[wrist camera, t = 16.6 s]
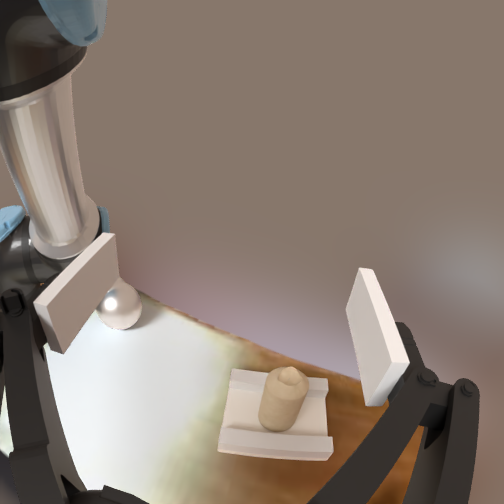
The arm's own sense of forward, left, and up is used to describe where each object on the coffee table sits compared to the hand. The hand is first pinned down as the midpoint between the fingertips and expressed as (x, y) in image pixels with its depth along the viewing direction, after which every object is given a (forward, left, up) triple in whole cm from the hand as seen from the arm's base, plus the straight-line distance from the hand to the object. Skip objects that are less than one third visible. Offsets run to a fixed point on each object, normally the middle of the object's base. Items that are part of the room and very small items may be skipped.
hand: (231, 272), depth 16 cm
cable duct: (+7, +12, -32) cm, 35 cm away
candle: (+7, +12, -31) cm, 34 cm away
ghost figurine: (-23, +27, -32) cm, 48 cm away
